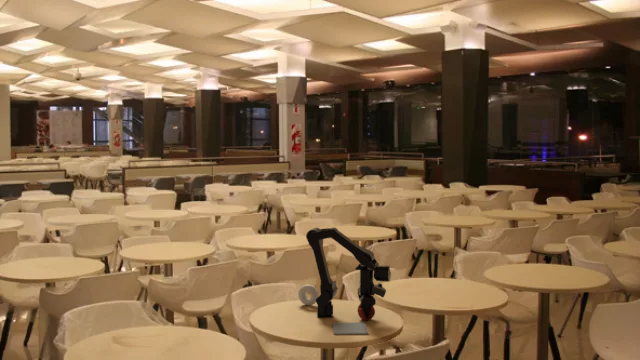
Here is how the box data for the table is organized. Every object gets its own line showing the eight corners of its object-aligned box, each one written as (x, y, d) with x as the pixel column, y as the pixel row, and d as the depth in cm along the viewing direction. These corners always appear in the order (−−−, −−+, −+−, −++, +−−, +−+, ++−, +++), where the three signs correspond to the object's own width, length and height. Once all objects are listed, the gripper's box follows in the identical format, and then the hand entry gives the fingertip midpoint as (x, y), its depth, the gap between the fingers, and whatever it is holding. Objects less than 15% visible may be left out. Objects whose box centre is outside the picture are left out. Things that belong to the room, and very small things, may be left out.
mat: (334, 334, 278) (334, 333, 278) (332, 324, 292) (332, 322, 292) (368, 334, 278) (368, 333, 278) (365, 323, 292) (365, 322, 292)
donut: (297, 305, 320) (297, 284, 319) (299, 303, 323) (299, 282, 322) (317, 307, 316) (317, 286, 315) (319, 305, 320) (319, 284, 318)
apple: (354, 318, 300) (354, 300, 299) (370, 316, 303) (370, 298, 303) (361, 323, 294) (362, 304, 293) (377, 320, 297) (378, 302, 296)
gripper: (387, 285, 288) (387, 321, 289) (382, 274, 306) (381, 308, 308) (361, 285, 287) (360, 321, 289) (357, 274, 306) (357, 308, 307)
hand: (366, 314), depth 298 cm, fingers open, 9 cm apart
